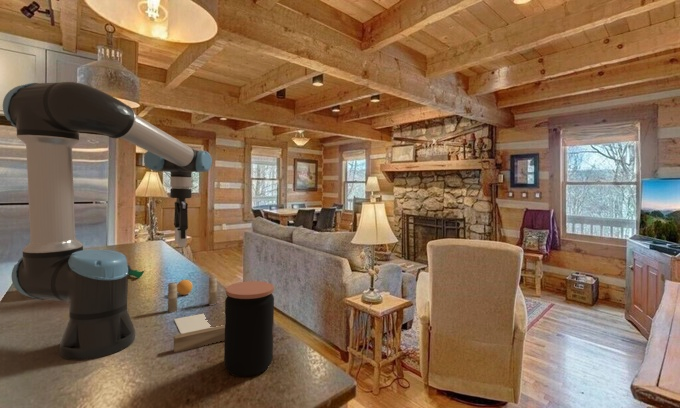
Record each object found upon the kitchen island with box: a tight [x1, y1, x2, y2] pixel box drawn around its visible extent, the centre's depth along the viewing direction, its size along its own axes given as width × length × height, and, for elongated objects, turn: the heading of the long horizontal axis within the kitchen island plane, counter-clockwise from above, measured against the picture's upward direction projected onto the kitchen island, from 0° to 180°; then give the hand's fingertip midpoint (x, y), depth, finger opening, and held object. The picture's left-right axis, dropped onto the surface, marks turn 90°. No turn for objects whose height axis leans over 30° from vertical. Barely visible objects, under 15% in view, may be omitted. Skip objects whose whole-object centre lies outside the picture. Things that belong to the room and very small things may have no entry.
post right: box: [208, 276, 218, 305], centre depth 112 cm, size 3×3×9 cm
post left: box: [167, 282, 178, 313], centre depth 105 cm, size 3×3×9 cm
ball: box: [177, 279, 194, 296], centre depth 122 cm, size 6×6×6 cm
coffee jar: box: [223, 280, 275, 378], centre depth 74 cm, size 11×11×18 cm
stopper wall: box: [173, 325, 225, 354], centre depth 85 cm, size 2×20×4 cm, turn 125°
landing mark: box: [173, 313, 212, 334], centre depth 97 cm, size 14×14×1 cm
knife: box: [127, 264, 146, 279], centre depth 144 cm, size 20×2×5 cm, turn 61°
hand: (180, 245), depth 129 cm, fingers open, 8 cm apart
